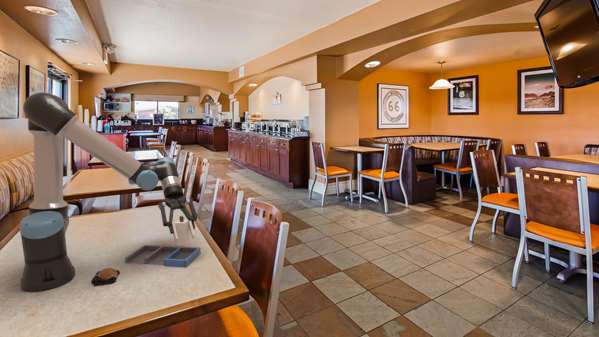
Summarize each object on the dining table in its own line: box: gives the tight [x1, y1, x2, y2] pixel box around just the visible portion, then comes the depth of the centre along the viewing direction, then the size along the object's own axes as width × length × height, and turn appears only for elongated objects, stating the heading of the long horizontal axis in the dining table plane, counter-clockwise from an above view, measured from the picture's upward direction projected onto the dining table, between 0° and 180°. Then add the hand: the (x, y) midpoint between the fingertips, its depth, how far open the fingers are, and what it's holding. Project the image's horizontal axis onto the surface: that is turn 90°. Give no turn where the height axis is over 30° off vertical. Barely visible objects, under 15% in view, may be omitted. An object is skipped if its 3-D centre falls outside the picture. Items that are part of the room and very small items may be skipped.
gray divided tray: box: [124, 244, 202, 268], centre depth 132 cm, size 14×25×3 cm, turn 83°
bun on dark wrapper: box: [91, 267, 121, 287], centre depth 116 cm, size 11×8×4 cm
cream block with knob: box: [174, 215, 191, 246], centre depth 130 cm, size 4×4×11 cm
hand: (185, 238), depth 127 cm, fingers closed on cream block with knob, 6 cm apart
